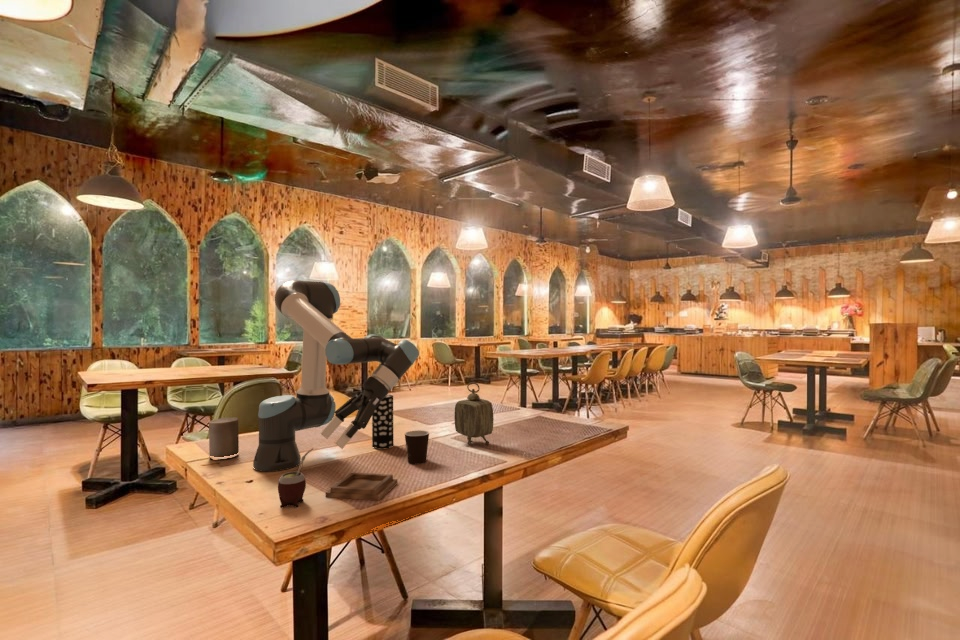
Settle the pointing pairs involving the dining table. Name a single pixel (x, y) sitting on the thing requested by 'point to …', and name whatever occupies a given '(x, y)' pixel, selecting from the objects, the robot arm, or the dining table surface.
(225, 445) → the pillar candle
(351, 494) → the walnut stand
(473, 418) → the tabletop clock
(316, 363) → the robot arm
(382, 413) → the spotted tube
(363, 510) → the dining table surface
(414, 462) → the coffee mug
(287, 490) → the mate gourd
